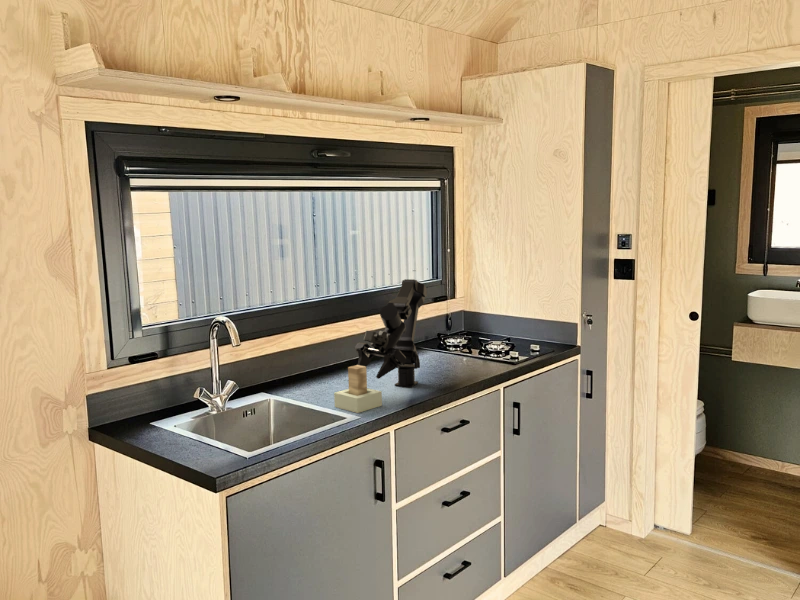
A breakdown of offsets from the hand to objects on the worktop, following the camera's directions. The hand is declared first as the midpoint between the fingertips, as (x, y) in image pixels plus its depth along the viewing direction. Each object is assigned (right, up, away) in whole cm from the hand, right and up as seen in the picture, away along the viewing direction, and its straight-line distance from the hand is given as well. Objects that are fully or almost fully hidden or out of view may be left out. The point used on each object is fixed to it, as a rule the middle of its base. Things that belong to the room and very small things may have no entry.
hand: (367, 375), depth 224 cm
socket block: (-3, -9, -2) cm, 10 cm away
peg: (-3, -9, -2) cm, 10 cm away
